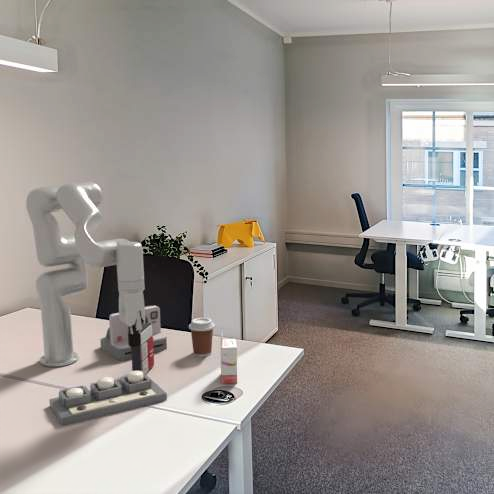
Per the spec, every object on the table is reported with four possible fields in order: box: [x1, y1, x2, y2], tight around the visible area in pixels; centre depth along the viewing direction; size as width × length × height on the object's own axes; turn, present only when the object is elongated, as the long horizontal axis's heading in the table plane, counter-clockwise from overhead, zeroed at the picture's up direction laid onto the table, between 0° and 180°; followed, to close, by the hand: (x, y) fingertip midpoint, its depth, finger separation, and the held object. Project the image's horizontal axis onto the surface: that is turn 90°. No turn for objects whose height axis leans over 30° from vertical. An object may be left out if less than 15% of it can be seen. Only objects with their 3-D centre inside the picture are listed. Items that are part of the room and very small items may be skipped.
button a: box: [66, 387, 83, 398], centre depth 167 cm, size 5×5×2 cm
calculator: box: [129, 323, 155, 375], centre depth 192 cm, size 11×4×15 cm, turn 168°
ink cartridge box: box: [220, 330, 238, 385], centre depth 186 cm, size 9×5×15 cm, turn 5°
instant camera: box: [99, 305, 168, 361], centre depth 215 cm, size 21×21×15 cm
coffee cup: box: [188, 317, 216, 357], centre depth 209 cm, size 9×9×12 cm
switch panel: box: [49, 373, 168, 426], centre depth 170 cm, size 14×30×4 cm, turn 121°
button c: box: [126, 370, 143, 384], centre depth 176 cm, size 5×5×2 cm
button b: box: [96, 376, 115, 391], centre depth 172 cm, size 5×5×2 cm
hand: (134, 345), depth 174 cm, fingers closed
